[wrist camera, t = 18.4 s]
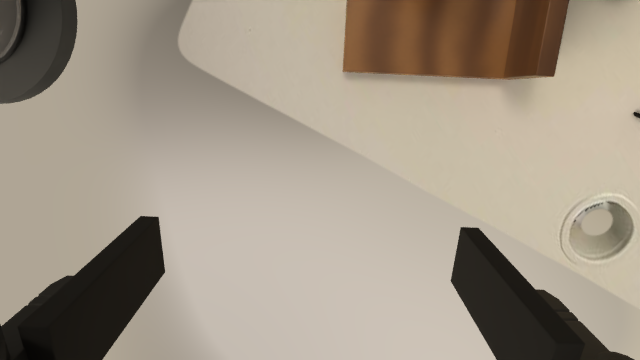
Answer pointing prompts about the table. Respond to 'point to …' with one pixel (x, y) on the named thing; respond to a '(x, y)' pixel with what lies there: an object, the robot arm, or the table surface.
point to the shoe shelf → (454, 37)
